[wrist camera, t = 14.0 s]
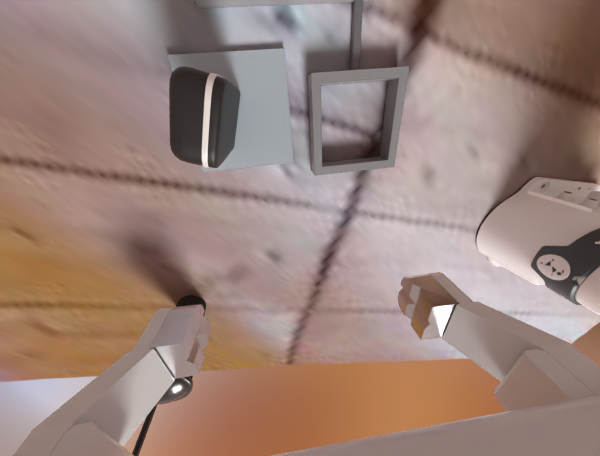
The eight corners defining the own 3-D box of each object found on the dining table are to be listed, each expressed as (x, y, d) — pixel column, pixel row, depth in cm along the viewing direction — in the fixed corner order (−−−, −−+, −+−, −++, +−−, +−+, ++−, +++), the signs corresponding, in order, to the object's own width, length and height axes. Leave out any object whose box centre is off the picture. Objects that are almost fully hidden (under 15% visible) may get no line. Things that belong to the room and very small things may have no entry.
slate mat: (283, 49, 23) (284, 48, 22) (293, 161, 29) (293, 162, 28) (169, 56, 22) (167, 54, 21) (203, 170, 28) (202, 171, 27)
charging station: (415, -74, 20) (443, -108, 17) (385, 162, 31) (398, 168, 28) (180, -73, 18) (162, -111, 15) (236, 178, 29) (233, 186, 26)
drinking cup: (200, 284, 37) (142, 436, 20) (221, 310, 41) (188, 457, 24) (160, 298, 37) (68, 460, 20) (185, 323, 41) (126, 477, 24)
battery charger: (205, 77, 23) (158, 51, 13) (241, 88, 24) (223, 73, 14) (202, 143, 26) (161, 164, 16) (234, 151, 27) (214, 176, 17)
